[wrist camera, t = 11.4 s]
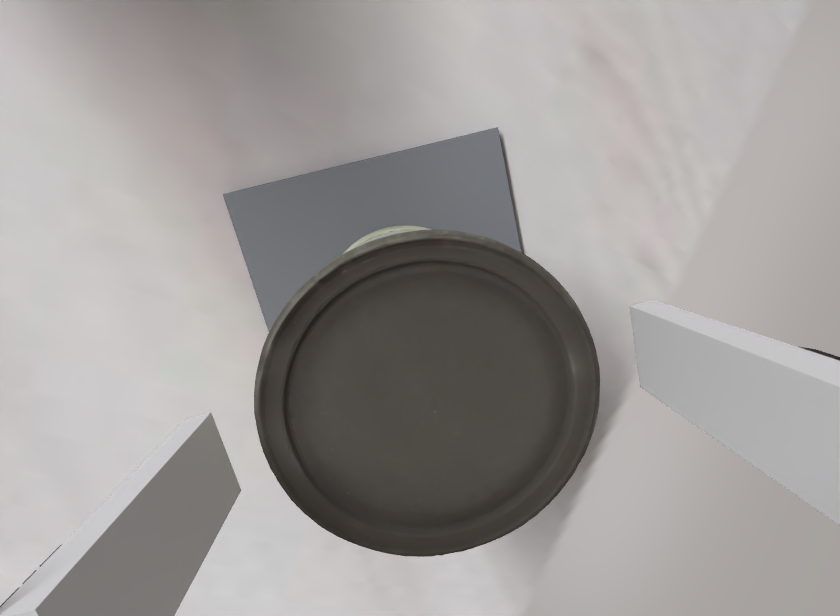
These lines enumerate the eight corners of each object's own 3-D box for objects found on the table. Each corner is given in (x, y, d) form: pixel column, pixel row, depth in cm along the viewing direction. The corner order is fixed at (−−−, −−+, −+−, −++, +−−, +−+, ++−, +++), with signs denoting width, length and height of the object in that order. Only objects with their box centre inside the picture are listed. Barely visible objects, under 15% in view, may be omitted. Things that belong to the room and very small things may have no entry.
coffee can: (520, 282, 27) (669, 351, 13) (430, 415, 28) (477, 606, 14) (378, 187, 25) (376, 151, 11) (288, 335, 26) (186, 467, 12)
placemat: (495, 129, 25) (497, 127, 25) (547, 404, 29) (550, 408, 29) (226, 194, 25) (222, 194, 24) (317, 466, 29) (315, 471, 28)
